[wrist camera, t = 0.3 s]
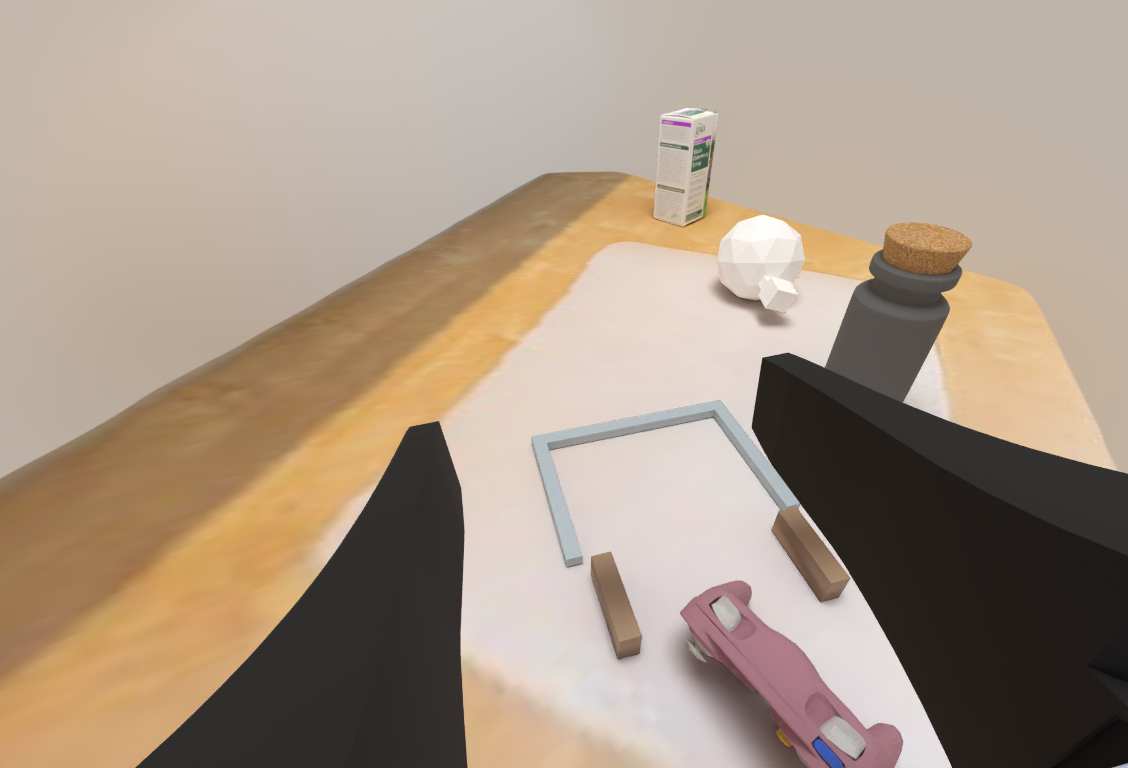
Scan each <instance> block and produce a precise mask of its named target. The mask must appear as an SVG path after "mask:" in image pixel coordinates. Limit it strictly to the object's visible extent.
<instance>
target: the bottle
mask: <svg viewBox="0 0 1128 768" xmlns="http://www.w3.org/2000/svg"><path fill="white" fill-rule="evenodd" d="M971 246H972V242H971V240H970V239H969V238H968V237H967V236H965V235H964V234H962V233H960V232H957V231H955V230H952V229H949V228H945V227H942V226H937V225H931V224H923V223H901V224H896V225H893V226H890V227H889V228H888V229H887V230H886V234H885V241H884V248H883V250H880V251H878V252H876V253H875V254H874V256H873V258H872V260H871V263H870V266H869V270H870V272H871V274H872V275H873V276H874V277H875V278H874V279H870V280H867V281H865V282H863V283H861V284H859V285H858V286H857V287H856V288H855V290H854V293H853V295H852V297H851V300H850V302H849V305H848V308H847V310H846V313H845V316H844V318H843V321H842V324H841V326H840V329H839V332H838V334H837V337H836V340H835V342H834V345H833V348H832V350H831V353H830V356H829V358H828V361H827V364H826V366H825V368H826V369H828V370H830V371H833V372H835V373H837V374H839V375H841V376H844V377H846V378H848V379H850V380H852V381H855V382H857V383H859V384H861V385H863V386H866V387H868V388H870V389H872V390H875V391H877V392H879V393H881V394H884V395H886V396H888V397H890V398H893V399H895V400H897V401H900V402H902V403H903V401H904V399H905V397H906V395H907V394H908V392H909V390H910V388H911V386H912V384H913V382H914V380H915V378H916V376H917V375H918V373H919V371H920V369H921V367H922V365H923V363H924V361H925V359H926V357H927V355H928V353H929V351H930V349H931V348H932V346H933V344H934V342H935V340H936V338H937V336H938V334H939V332H940V330H941V328H942V326H943V324H944V322H945V320H946V318H947V316H948V313H949V311H950V307H949V304H948V302H947V300H946V299H945V298H944V296H943V295H942V294H941V292H945V291H948V290H951V289H952V288H954V287H955V286H956V285H957V283H958V281H959V279H960V277H961V274H962V269H961V267H960V266H959V265H958V263H959V262H960V261H961V259H962V258H963V257H964V256H965V254H966V253H967V252H968V251H969V249H970V248H971Z"/></svg>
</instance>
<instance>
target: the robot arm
mask: <svg viewBox="0 0 1128 768" xmlns="http://www.w3.org/2000/svg"><path fill="white" fill-rule="evenodd" d="M752 429H753V431H754V433H755V435H756V437H757V439H758V441H759V443H760V445H761V447H762V448H763V450H764V452H765V454H766V455H767V457H768V459H769V461H770V462H771V464H772V466H773V467H774V469H775V470H776V471H777V473H778V474H779V476H780V477H781V478H782V480H783V481H784V482H785V484H786V485H787V486H788V488H789V489H790V491H791V492H792V493H793V495H794V496H795V497H796V499H797V500H798V501H799V503H800V504H801V505H802V507H803V508H804V509H805V511H806V512H807V513H808V515H809V516H810V517H811V519H812V520H813V521H814V523H815V524H816V525H817V527H818V528H819V529H820V531H821V532H822V533H823V535H824V536H825V537H826V539H827V540H828V541H829V543H830V544H831V546H832V547H833V548H834V550H835V551H836V553H837V554H838V556H839V557H840V559H841V560H842V562H843V563H844V565H845V566H846V568H847V570H848V571H849V573H850V575H851V576H852V578H853V580H854V581H855V583H856V585H857V586H858V588H859V590H860V591H861V593H862V595H863V596H864V598H865V600H866V601H867V603H868V605H869V606H870V608H871V610H872V612H873V614H874V615H875V617H876V619H877V621H878V623H879V624H880V626H881V628H882V630H883V631H884V633H885V635H886V637H887V639H888V640H889V642H890V644H891V646H892V647H893V649H894V651H895V653H896V655H897V657H898V659H899V661H900V663H901V665H902V666H903V668H904V670H905V672H906V674H907V676H908V678H909V680H910V682H911V684H912V686H913V688H914V690H915V691H916V693H917V695H918V697H919V699H920V701H921V703H922V705H923V707H924V709H925V711H926V713H927V716H928V718H929V720H930V722H931V724H932V726H933V728H934V730H935V732H936V734H937V736H938V739H939V741H940V743H941V745H942V747H943V749H944V751H945V753H946V755H947V757H948V759H949V762H950V764H951V766H952V768H1128V474H1126V473H1122V472H1118V471H1114V470H1110V469H1106V468H1102V467H1098V466H1093V465H1089V464H1086V463H1082V462H1078V461H1075V460H1071V459H1067V458H1063V457H1060V456H1056V455H1052V454H1049V453H1045V452H1041V451H1038V450H1034V449H1031V448H1028V447H1024V446H1021V445H1018V444H1014V443H1011V442H1008V441H1005V440H1002V439H999V438H996V437H993V436H990V435H987V434H984V433H981V432H978V431H975V430H972V429H969V428H966V427H963V426H961V425H958V424H955V423H952V422H950V421H947V420H944V419H942V418H939V417H937V416H934V415H932V414H929V413H927V412H924V411H922V410H919V409H917V408H914V407H912V406H909V405H907V404H905V403H902V402H900V401H897V400H895V399H893V398H890V397H888V396H886V395H884V394H881V393H879V392H877V391H875V390H872V389H870V388H868V387H866V386H863V385H861V384H859V383H857V382H855V381H852V380H850V379H848V378H846V377H844V376H841V375H839V374H837V373H835V372H833V371H830V370H828V369H826V368H824V367H822V366H819V365H817V364H815V363H813V362H810V361H808V360H806V359H803V358H801V357H798V356H796V355H793V354H790V353H784V354H779V355H774V356H769V357H764V358H762V364H761V370H760V377H759V383H758V389H757V396H756V402H755V409H754V415H753V422H752ZM463 559H464V517H463V505H462V493H461V486H460V483H459V480H458V477H457V474H456V471H455V468H454V465H453V462H452V459H451V456H450V453H449V450H448V447H447V444H446V441H445V438H444V435H443V432H442V429H441V426H440V423H439V421H437V422H432V423H427V424H422V425H417V426H412V427H409V429H408V430H407V431H406V433H405V435H404V437H403V439H402V441H401V443H400V445H399V447H398V449H397V451H396V453H395V454H394V456H393V458H392V460H391V462H390V464H389V466H388V467H387V469H386V471H385V473H384V475H383V477H382V478H381V480H380V482H379V483H378V485H377V487H376V489H375V490H374V492H373V494H372V495H371V497H370V499H369V501H368V502H367V504H366V506H365V507H364V509H363V511H362V512H361V514H360V515H359V517H358V518H357V520H356V521H355V523H354V524H353V526H352V528H351V529H350V531H349V532H348V534H347V535H346V537H345V538H344V540H343V541H342V543H341V544H340V546H339V547H338V549H337V550H336V552H335V553H334V554H333V556H332V557H331V558H330V560H329V561H328V563H327V564H326V565H325V567H324V568H323V569H322V571H321V572H320V574H319V575H318V576H317V577H316V579H315V580H314V581H313V583H312V584H311V585H310V586H309V588H308V589H307V590H306V592H305V593H304V594H303V595H302V597H301V598H300V599H299V600H298V602H297V603H296V604H295V605H294V606H293V607H292V609H291V610H290V611H289V612H288V613H287V615H286V616H285V617H284V618H283V619H282V620H281V622H280V623H279V624H278V625H277V626H276V627H275V628H274V630H273V631H272V632H271V633H270V634H269V635H268V636H267V638H266V639H265V640H264V641H263V642H262V643H261V644H260V645H259V647H258V648H257V649H256V650H255V651H254V652H253V653H252V654H251V656H250V657H249V658H248V659H247V660H246V661H245V662H244V663H243V664H242V665H241V666H240V667H239V668H238V669H237V670H236V671H235V672H234V673H233V674H232V675H231V676H230V678H229V679H228V680H227V681H226V682H225V683H224V684H223V685H222V686H221V687H220V688H219V689H218V690H217V691H216V692H215V693H214V694H213V695H212V696H211V697H210V698H209V699H208V700H207V701H206V702H205V703H204V704H203V705H202V706H201V707H200V708H199V709H198V710H197V711H196V712H195V713H194V714H193V715H192V716H191V717H190V718H188V719H187V720H186V721H185V722H184V723H183V724H182V725H181V726H180V727H179V728H178V729H177V730H176V731H175V732H174V733H173V734H172V735H171V736H170V737H168V738H167V739H166V740H165V741H164V742H163V743H162V744H161V745H160V746H159V747H158V748H156V749H155V750H154V751H153V752H152V753H151V754H150V755H149V756H148V757H147V758H145V759H144V760H143V761H142V762H141V763H140V764H139V765H138V766H137V767H136V768H467V756H466V741H465V725H464V710H463V693H462V674H461V655H460V631H461V607H462V583H463Z"/></svg>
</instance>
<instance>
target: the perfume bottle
mask: <svg viewBox="0 0 1128 768" xmlns="http://www.w3.org/2000/svg"><path fill="white" fill-rule="evenodd" d="M804 260H805V258H804V253H803V247H802V241H801V235H800V234H799V233H797V232H796V231H795V230H794V229H793V228H791V227H790V226H789V225H788V224H786V223H785V222H784V221H781V220H778V219H775V218H772V217H769V216H765V215H760V216H757V217H754V218H751V219H747V220H744V221H741V222H738V223H737V224H736V225H735V226H734V227H733V228H732V229H731V230H730V232H729V233H728V234H727V235H726V236H725V237H724V238H723V239H722V240H721V243H720V247H719V252H718V257H717V262H718V269H719V276H720V282H722V283H723V284H724V285H725V286H726V287H727V288H729V289H730V290H731V291H732V292H733V293H734V294H735V295H737V296H738V297H741V298H745V299H750V300H754V301H757V300H761V301H762V303H763V305H764V307H765V308H766V309H770V310H775V311H779V312H783V313H785V312H786V311H787V309H788V308H789V307H790V305H791V304H792V303H793V302H794V300H795V299H796V298H797V296H798V293H797V292H796V290H795V288H794V287H793V285H792V283H793V282H794V281H795V280H796V279H797V278H798V276H799V273H800V271H801V268H802V265H803V263H804Z"/></svg>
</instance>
